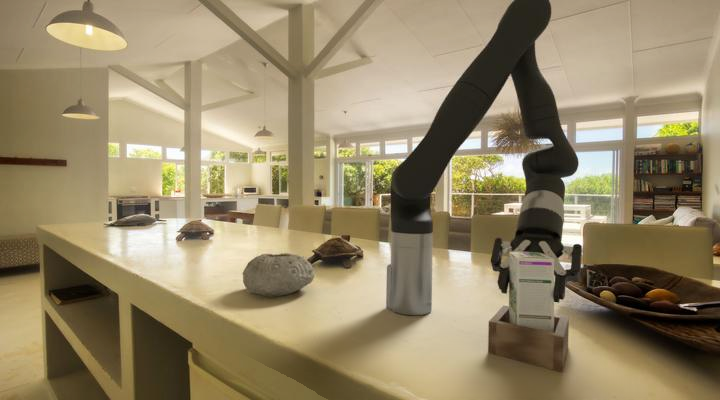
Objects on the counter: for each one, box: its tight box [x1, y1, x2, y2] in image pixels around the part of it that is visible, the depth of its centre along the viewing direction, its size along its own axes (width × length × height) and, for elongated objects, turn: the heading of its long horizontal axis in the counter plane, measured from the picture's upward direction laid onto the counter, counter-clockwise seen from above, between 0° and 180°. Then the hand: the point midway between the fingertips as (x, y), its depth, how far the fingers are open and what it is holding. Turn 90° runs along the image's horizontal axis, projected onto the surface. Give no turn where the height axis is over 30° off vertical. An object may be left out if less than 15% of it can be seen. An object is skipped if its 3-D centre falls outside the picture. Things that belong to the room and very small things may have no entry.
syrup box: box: [508, 251, 555, 333], centre depth 56 cm, size 6×6×14 cm
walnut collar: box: [487, 305, 570, 373], centre depth 56 cm, size 10×10×5 cm
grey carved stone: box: [242, 252, 315, 297], centre depth 88 cm, size 18×18×10 cm
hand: (528, 295), depth 55 cm, fingers closed on syrup box, 7 cm apart
